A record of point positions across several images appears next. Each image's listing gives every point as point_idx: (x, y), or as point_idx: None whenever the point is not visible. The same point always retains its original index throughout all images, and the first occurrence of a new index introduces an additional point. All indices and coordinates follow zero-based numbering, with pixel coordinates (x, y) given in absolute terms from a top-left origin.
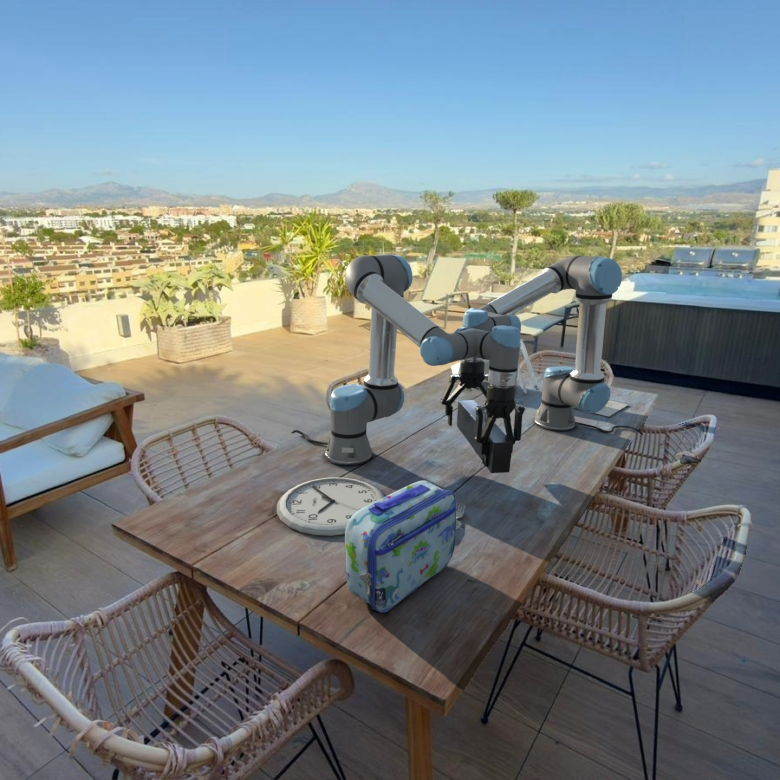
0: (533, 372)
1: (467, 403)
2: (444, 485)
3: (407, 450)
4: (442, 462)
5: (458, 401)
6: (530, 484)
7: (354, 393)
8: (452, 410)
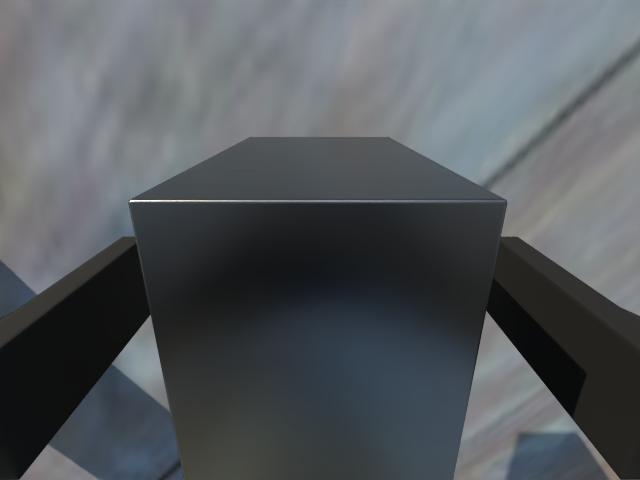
0: None
1: (291, 393)
2: None
3: (5, 69)
4: None
5: (139, 215)
6: (477, 426)
7: None
8: (58, 427)
